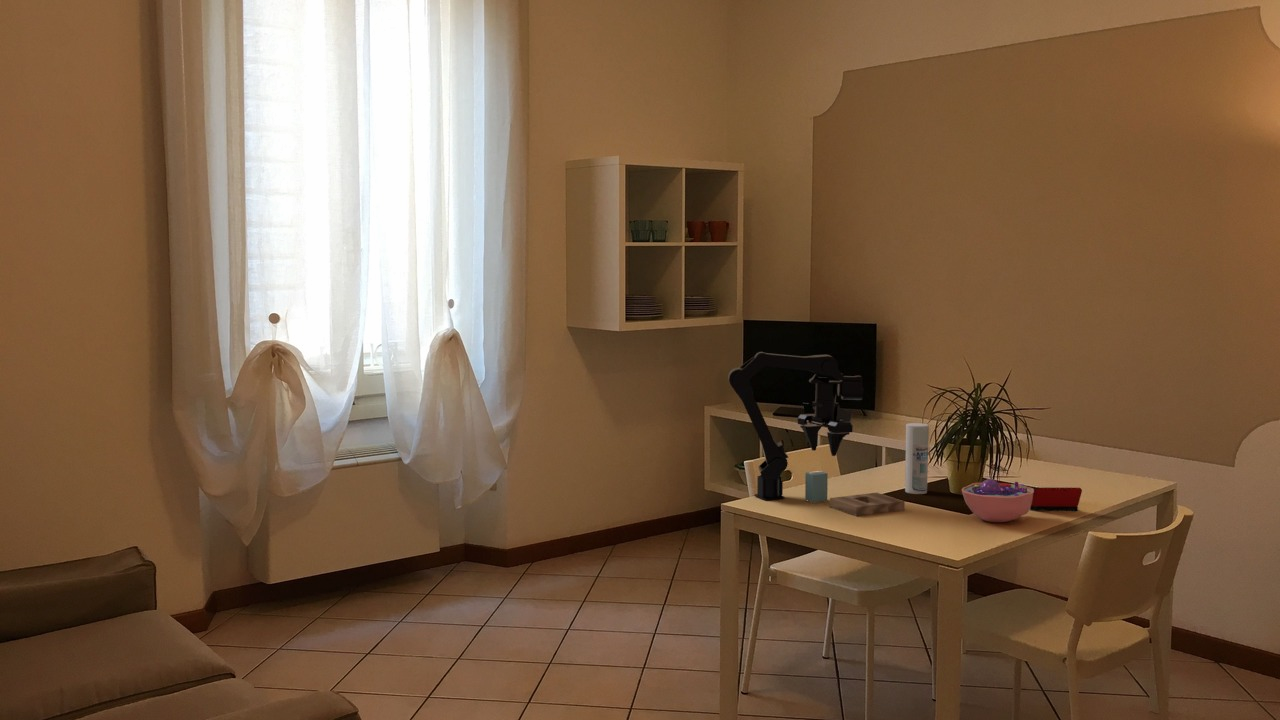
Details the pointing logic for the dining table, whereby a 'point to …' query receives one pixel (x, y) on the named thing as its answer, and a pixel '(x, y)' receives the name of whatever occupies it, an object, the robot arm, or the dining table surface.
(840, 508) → the socket block
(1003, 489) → the cell model
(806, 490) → the keyed peg
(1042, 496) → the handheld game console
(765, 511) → the dining table surface
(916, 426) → the spray can
